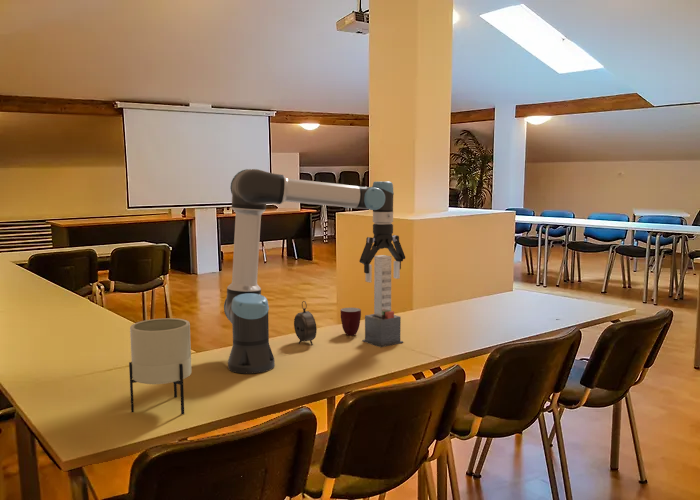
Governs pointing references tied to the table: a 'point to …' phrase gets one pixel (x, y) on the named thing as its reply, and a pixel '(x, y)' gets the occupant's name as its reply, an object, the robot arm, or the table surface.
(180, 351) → the planter
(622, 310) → the table surface
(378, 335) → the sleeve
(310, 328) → the alarm clock
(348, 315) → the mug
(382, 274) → the column
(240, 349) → the robot arm
